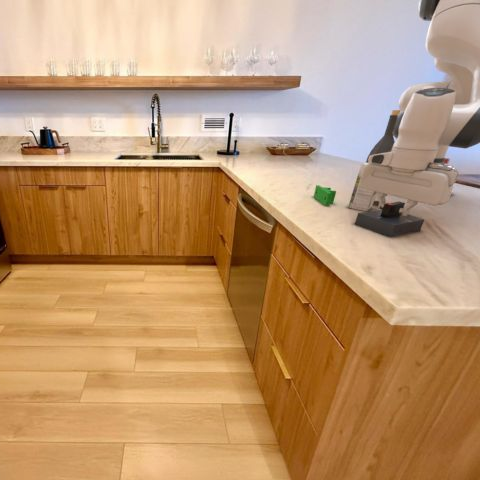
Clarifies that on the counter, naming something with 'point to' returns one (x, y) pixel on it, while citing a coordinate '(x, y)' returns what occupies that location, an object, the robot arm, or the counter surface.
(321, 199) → the pipe clamp
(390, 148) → the wine bottle
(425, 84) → the robot arm
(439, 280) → the counter surface
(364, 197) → the syrup box
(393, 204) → the black small block
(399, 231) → the block
